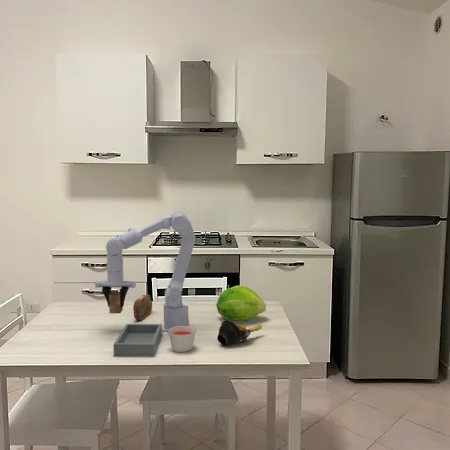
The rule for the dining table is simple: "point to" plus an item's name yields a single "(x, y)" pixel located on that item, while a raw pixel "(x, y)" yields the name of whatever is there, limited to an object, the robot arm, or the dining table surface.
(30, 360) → the dining table surface
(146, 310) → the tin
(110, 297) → the block
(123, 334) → the bin
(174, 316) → the robot arm
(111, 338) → the dining table surface
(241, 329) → the fried shrimp in bowl
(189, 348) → the candle
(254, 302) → the green papaya
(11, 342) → the dining table surface
